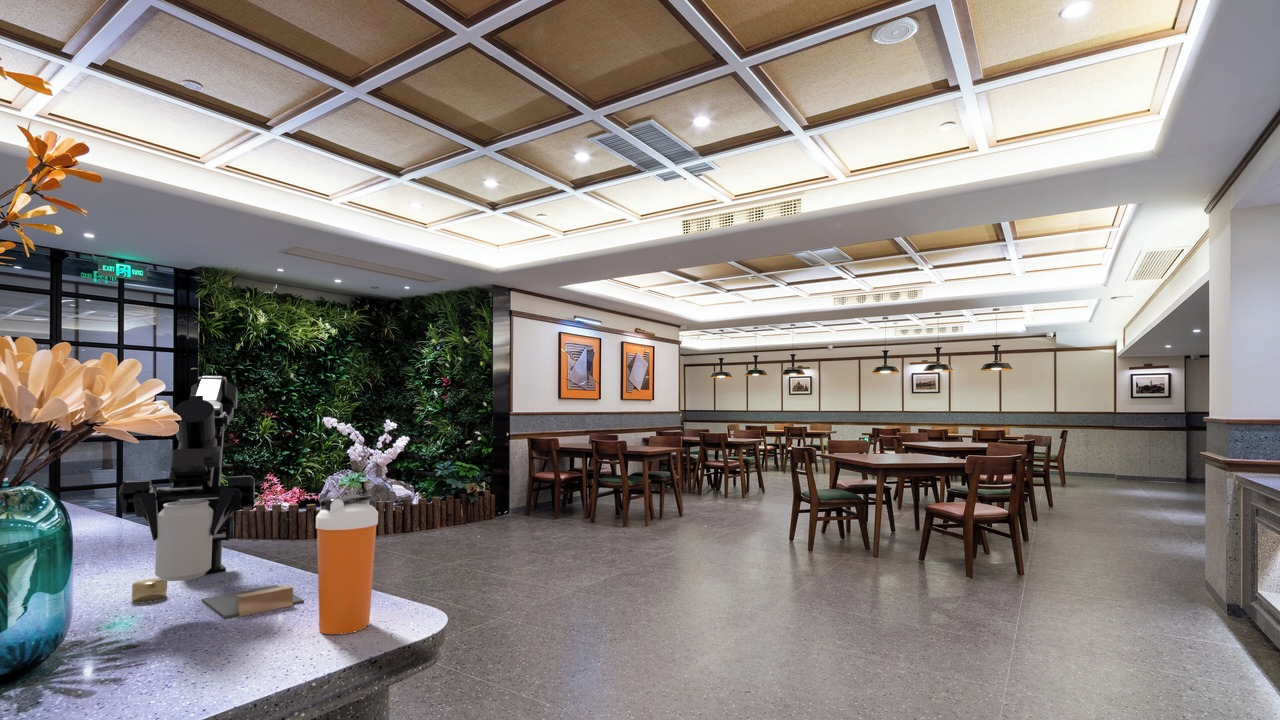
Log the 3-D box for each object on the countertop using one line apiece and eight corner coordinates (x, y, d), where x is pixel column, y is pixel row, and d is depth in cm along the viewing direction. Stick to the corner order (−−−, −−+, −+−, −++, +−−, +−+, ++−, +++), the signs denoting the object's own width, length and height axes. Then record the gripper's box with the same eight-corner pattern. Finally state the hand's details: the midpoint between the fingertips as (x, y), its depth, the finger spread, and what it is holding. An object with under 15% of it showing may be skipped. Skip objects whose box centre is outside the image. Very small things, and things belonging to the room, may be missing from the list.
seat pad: (201, 600, 115) (201, 598, 115) (276, 587, 124) (276, 584, 124) (224, 618, 105) (224, 616, 105) (303, 602, 114) (303, 599, 114)
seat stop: (236, 613, 108) (236, 595, 108) (288, 603, 114) (288, 585, 114) (239, 616, 106) (240, 597, 107) (292, 605, 112) (293, 587, 112)
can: (221, 570, 110) (224, 498, 111) (188, 583, 102) (191, 505, 103) (178, 569, 110) (181, 497, 111) (142, 582, 103) (146, 505, 104)
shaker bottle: (387, 624, 102) (390, 495, 104) (333, 642, 95) (337, 502, 96) (354, 614, 107) (357, 491, 109) (300, 630, 100) (304, 497, 101)
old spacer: (130, 599, 117) (130, 581, 117) (164, 593, 120) (165, 576, 120) (133, 605, 113) (133, 587, 113) (168, 599, 116) (169, 582, 117)
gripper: (123, 432, 107) (103, 510, 96) (256, 429, 116) (250, 501, 105) (131, 475, 113) (113, 553, 103) (256, 470, 122) (251, 541, 112)
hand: (184, 536), depth 106 cm, fingers closed on can, 7 cm apart
